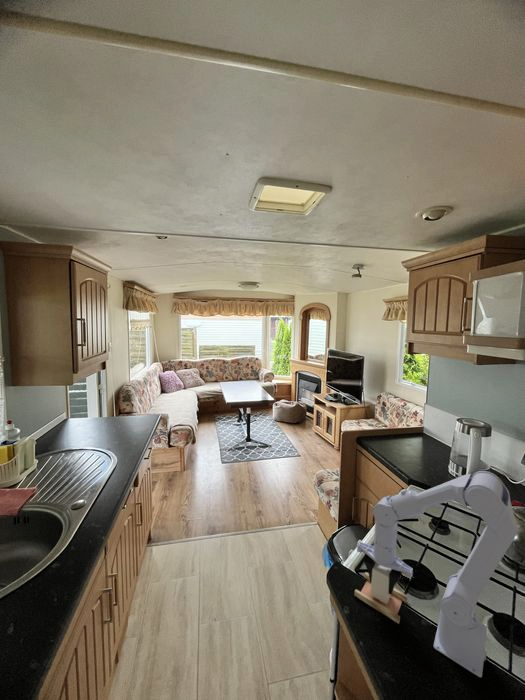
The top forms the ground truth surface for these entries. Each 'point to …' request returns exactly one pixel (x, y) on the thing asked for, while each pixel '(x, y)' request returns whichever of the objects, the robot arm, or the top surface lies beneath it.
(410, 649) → the top surface
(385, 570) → the peg
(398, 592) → the tray
